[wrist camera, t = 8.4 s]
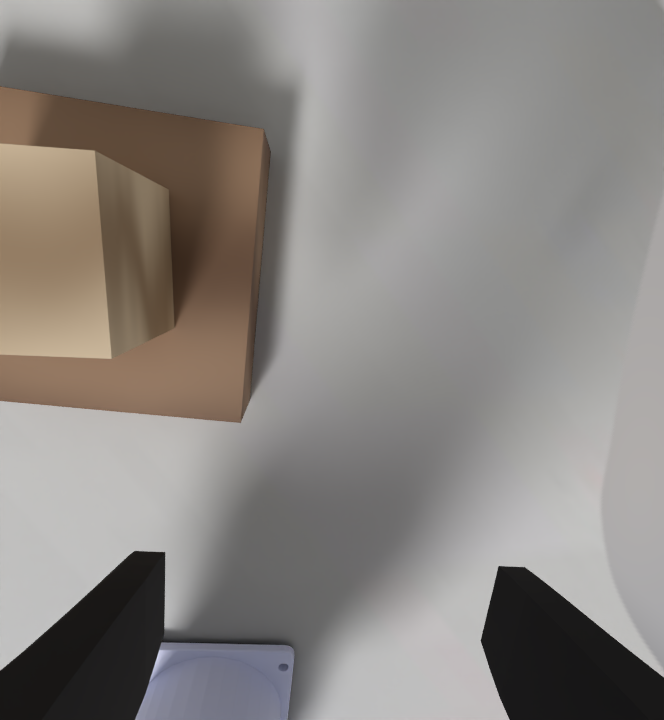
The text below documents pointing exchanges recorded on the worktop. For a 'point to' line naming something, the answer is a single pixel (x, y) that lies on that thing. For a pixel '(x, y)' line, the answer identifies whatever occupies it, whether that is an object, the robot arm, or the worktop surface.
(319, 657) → the worktop surface
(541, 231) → the worktop surface
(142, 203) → the oak cube
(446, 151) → the worktop surface
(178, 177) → the walnut block
